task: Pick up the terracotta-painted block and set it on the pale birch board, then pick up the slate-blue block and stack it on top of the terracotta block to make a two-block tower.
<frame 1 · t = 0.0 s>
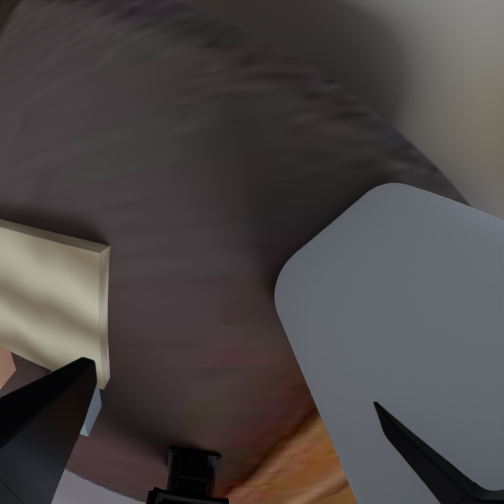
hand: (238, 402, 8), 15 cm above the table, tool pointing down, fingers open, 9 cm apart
slate block: (80, 384, 25), on the table
birch board: (46, 301, 22), on the table
plastic bottle: (374, 286, 24), on the table
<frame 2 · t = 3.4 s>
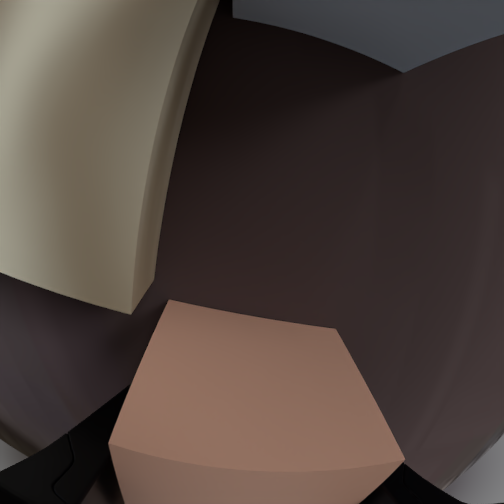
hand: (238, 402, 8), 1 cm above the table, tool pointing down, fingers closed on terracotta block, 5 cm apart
birch board: (18, 38, 5), on the table
terracotta block: (238, 380, 9), on the table, touching gripper
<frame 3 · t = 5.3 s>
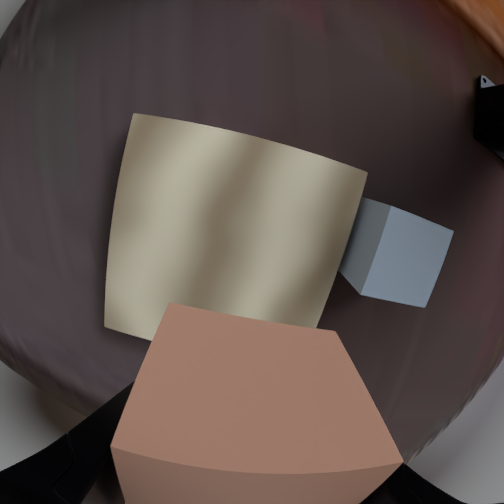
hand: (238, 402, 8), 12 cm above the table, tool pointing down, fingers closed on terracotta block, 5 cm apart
slate block: (374, 239, 19), on the table
birch board: (224, 246, 19), on the table
terracotta block: (238, 382, 9), point 11 cm above the table, touching gripper
when the fingers open (4 cm above the table, at t = 7.3 s): terracotta block stays where it is, resting on birch board.
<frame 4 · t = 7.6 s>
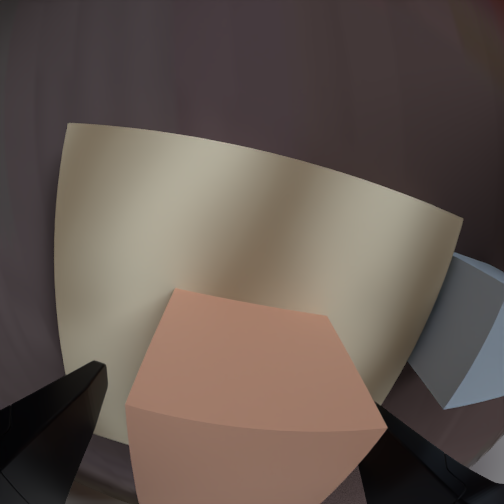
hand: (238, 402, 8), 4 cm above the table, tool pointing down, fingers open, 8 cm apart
slate block: (446, 301, 12), on the table
birch board: (236, 333, 12), on the table
terracotta block: (237, 364, 10), point 2 cm above the table, touching birch board
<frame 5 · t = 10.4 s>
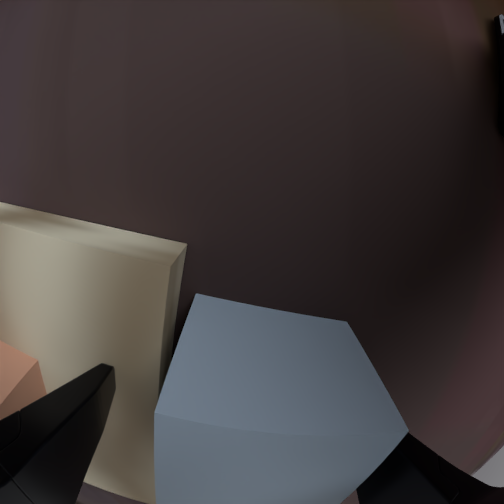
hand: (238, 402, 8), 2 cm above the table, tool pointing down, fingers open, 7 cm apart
slate block: (256, 368, 10), on the table
birch board: (28, 357, 10), on the table
terracotta block: (6, 382, 8), point 2 cm above the table, touching birch board
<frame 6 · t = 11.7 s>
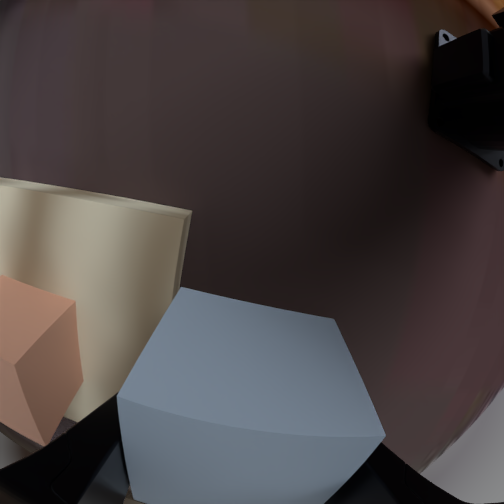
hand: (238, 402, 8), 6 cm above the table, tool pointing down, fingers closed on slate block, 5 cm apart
slate block: (242, 365, 10), point 4 cm above the table, touching gripper
birch board: (56, 312, 13), on the table
terracotta block: (39, 330, 12), point 2 cm above the table, touching birch board
when the fingers open (9 cm above the table, at t = 14.1 s): slate block stays where it is, resting on terracotta block.
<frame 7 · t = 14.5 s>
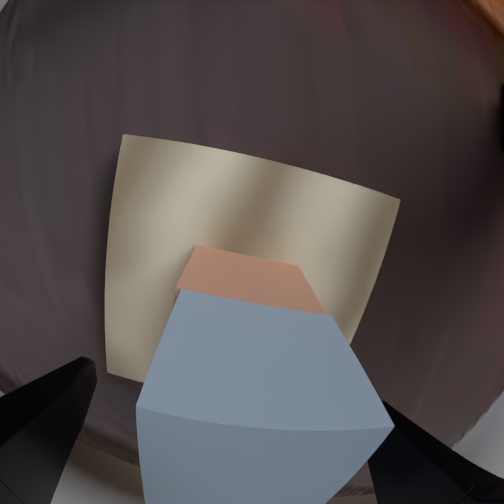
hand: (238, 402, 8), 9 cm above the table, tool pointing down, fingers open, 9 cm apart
slate block: (243, 364, 10), point 7 cm above the table, touching terracotta block
birch board: (236, 285, 16), on the table
terracotta block: (237, 302, 15), point 2 cm above the table, touching birch board, slate block
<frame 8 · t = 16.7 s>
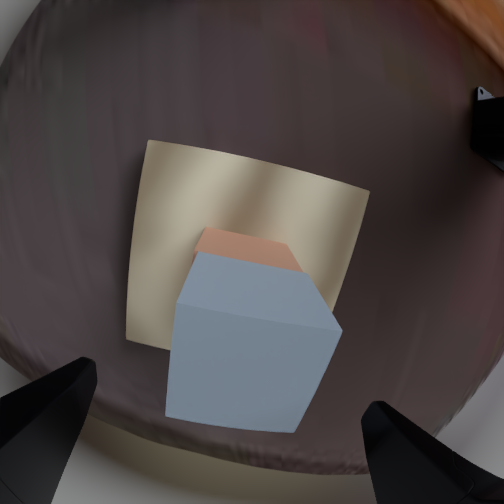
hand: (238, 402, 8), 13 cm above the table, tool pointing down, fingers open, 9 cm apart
slate block: (242, 311, 14), point 7 cm above the table, touching terracotta block
birch board: (237, 262, 20), on the table
terracotta block: (237, 273, 18), point 2 cm above the table, touching birch board, slate block
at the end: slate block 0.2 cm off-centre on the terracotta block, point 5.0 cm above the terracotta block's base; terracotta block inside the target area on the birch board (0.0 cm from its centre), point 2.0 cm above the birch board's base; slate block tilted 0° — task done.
